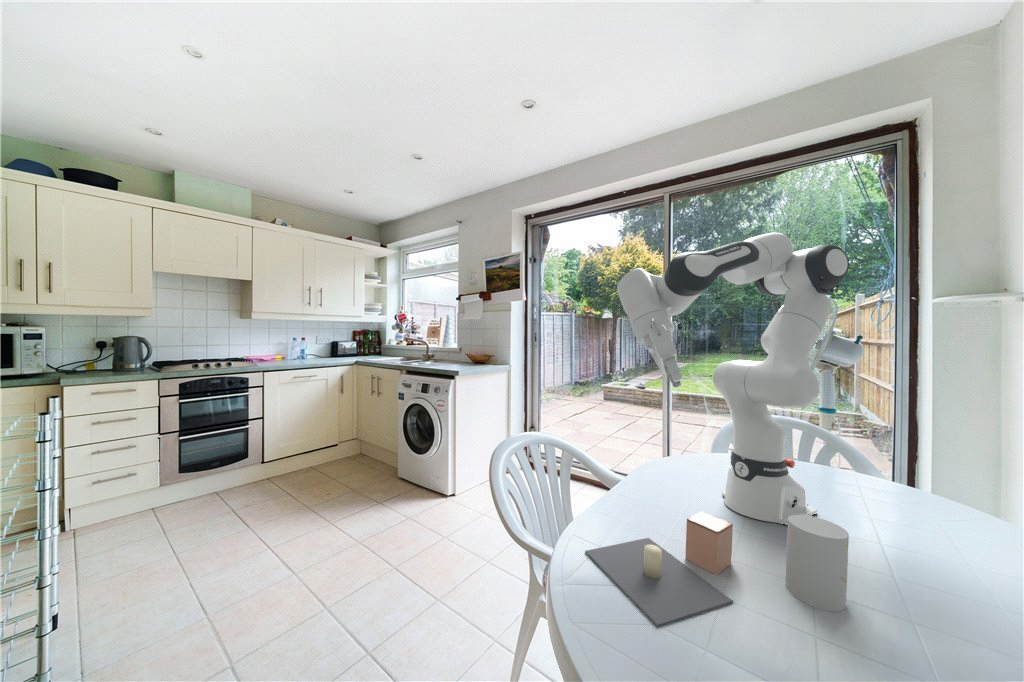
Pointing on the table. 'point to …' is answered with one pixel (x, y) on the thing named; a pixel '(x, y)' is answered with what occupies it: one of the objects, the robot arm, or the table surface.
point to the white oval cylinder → (817, 562)
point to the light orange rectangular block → (709, 542)
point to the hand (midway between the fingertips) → (678, 383)
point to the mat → (657, 581)
